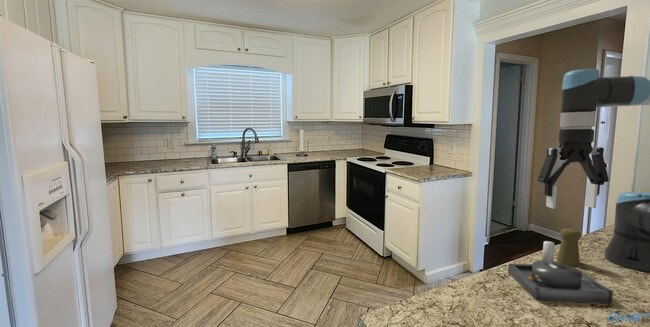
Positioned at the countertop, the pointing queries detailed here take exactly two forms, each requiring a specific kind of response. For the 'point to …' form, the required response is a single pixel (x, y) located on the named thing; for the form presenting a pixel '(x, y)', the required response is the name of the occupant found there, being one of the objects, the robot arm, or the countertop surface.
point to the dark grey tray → (540, 291)
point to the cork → (569, 247)
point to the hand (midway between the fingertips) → (570, 207)
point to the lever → (555, 270)
